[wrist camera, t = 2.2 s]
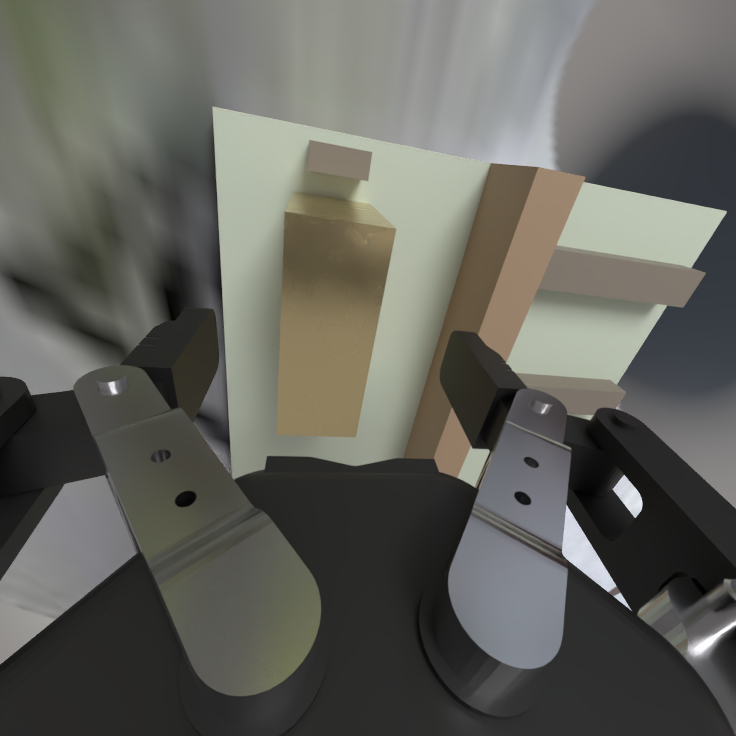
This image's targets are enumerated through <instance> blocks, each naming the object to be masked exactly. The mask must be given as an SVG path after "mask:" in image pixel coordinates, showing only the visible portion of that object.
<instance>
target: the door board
mask: <svg viewBox="0 0 736 736" xmlns="http://www.w3.org/2000/svg"><path fill="white" fill-rule="evenodd" d="M213 125H214V144H215V163H216V182H217V201H218V220H219V239H220V258H221V278H222V297H223V316H224V335H225V354H226V373H227V392H228V411H229V430H230V449H231V469H232V478H233V479H235V478H238V477H240V476H243V475H245V474H248V473H252V472H255V471H259V470H264V469H265V464H266V459H267V456H303V457H315V458H319V459H324V460H328V461H333V462H337V463H342V464H347V465H352V466H359V465H364V464H369V463H374V462H379V461H384V460H389V459H394V458H412V459H435V462H436V465H437V467H438V470H439V472H442V473H445V474H448V475H451V476H454V477H456V478H459V479H461V480H463V481H465V482H467V483H469V484H470V485H472V486H474V487H475V485H476V483H477V480H478V478H479V475H480V473H481V471H482V468H483V466H484V463H485V461H486V459H487V456H488V454H489V452H490V451H489V449H473V448H472V446H471V444H470V442H469V440H468V438H467V436H466V434H465V432H464V430H463V428H462V426H461V424H460V422H459V420H458V418H457V416H456V414H455V412H454V410H453V408H452V406H451V404H450V402H449V400H448V398H447V396H446V394H445V392H444V390H443V388H442V386H441V383H440V368H441V364H442V361H443V358H444V354H445V351H446V348H447V344H448V341H449V338H450V335H451V333H452V332H453V331H455V330H457V331H469V332H476V333H477V334H478V336H479V337H480V338H481V339H482V341H483V342H484V343H485V344H486V345H487V346H488V347H490V348H491V349H492V350H494V351H495V352H497V353H498V354H500V356H501V357H502V358H503V359H504V360H505V361H506V364H508V365H509V366H510V367H511V369H512V371H514V372H515V373H516V374H517V376H518V377H519V378H520V379H521V380H522V382H523V383H524V384H525V385H526V386H527V388H528V389H536V390H539V391H542V392H545V393H547V394H550V395H551V396H553V397H555V398H556V399H558V400H559V401H560V402H561V403H562V404H563V405H564V406H565V407H566V409H567V415H571V416H575V417H579V418H583V419H587V420H591V418H592V417H593V415H594V414H595V412H596V410H597V409H599V408H603V407H605V408H613V409H616V407H617V406H618V404H619V403H620V401H621V400H622V398H623V397H624V395H625V394H626V392H625V391H624V390H622V389H621V388H620V387H619V386H617V383H618V382H619V380H620V378H621V377H622V375H623V374H624V372H625V371H626V369H627V367H628V366H629V364H630V363H631V361H632V360H633V358H634V356H635V355H636V353H637V352H638V350H639V349H640V347H641V346H642V344H643V342H644V341H645V339H646V338H647V336H648V335H649V333H650V331H651V330H652V328H653V327H654V325H655V324H656V322H657V320H658V319H659V317H660V316H661V314H662V313H663V311H664V309H665V308H666V306H667V305H668V306H676V307H684V305H685V304H686V302H687V301H688V299H689V298H690V296H691V295H692V293H693V292H694V290H695V289H696V287H697V286H698V284H699V283H700V281H701V280H702V278H703V276H704V275H705V272H701V271H698V270H695V269H692V268H691V267H692V266H693V264H694V262H695V261H696V259H697V258H698V256H699V255H700V253H701V252H702V250H703V248H704V247H705V245H706V244H707V242H708V240H709V239H710V237H711V236H712V234H713V233H714V231H715V230H716V228H717V226H718V225H719V223H720V222H721V220H722V219H723V217H724V216H725V214H726V212H727V211H722V210H717V209H712V208H707V207H702V206H698V205H693V204H688V203H683V202H678V201H673V200H668V199H663V198H659V197H653V196H648V195H644V194H639V193H634V192H629V191H624V190H619V189H614V188H609V187H605V186H599V185H595V184H590V183H585V182H584V180H585V177H583V176H578V175H573V174H568V173H564V172H559V171H554V170H549V169H544V168H540V167H529V166H517V165H505V164H493V163H487V162H482V161H477V160H472V159H467V158H462V157H458V156H453V155H448V154H443V153H438V152H433V151H428V150H423V149H418V148H413V147H409V146H404V145H399V144H394V143H389V142H384V141H379V140H374V139H369V138H364V137H360V136H355V135H350V134H345V133H340V132H335V131H330V130H325V129H320V128H315V127H310V126H306V125H301V124H296V123H291V122H286V121H281V120H276V119H271V118H266V117H261V116H257V115H252V114H247V113H242V112H237V111H232V110H227V109H222V108H217V107H213ZM294 191H296V192H302V193H308V194H314V195H320V196H326V197H332V198H338V199H344V200H350V201H356V202H362V203H368V204H371V205H372V206H373V207H374V208H375V209H376V210H377V211H378V212H379V213H381V214H382V215H383V216H384V217H385V218H386V219H387V220H388V221H389V222H390V223H391V224H392V225H393V226H394V227H395V228H396V233H395V238H394V244H393V249H392V254H391V259H390V264H389V269H388V274H387V280H386V285H385V290H384V295H383V300H382V305H381V311H380V316H379V321H378V326H377V331H376V336H375V341H374V347H373V352H372V357H371V362H370V367H369V372H368V377H367V383H366V388H365V393H364V398H363V403H362V408H361V414H360V419H359V424H358V429H357V434H356V437H325V436H291V435H276V427H277V401H278V374H279V348H280V322H281V295H282V269H283V243H284V217H285V210H286V208H287V205H288V203H289V201H290V199H291V196H292V194H293V192H294Z"/></svg>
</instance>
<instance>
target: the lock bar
mask: <svg viewBox="0 0 736 736" xmlns="http://www.w3.org/2000/svg"><path fill="white" fill-rule="evenodd" d="M395 233H396V228H395V227H394V226H393V225H392V224H391V223H390V222H389V221H388V220H387V219H386V218H385V217H384V216H383V215H382V214H381V213H379V212H378V211H377V210H376V209H375V208H374V207H373V206H372V205H371V204H368V203H362V202H356V201H350V200H344V199H338V198H332V197H326V196H320V195H314V194H308V193H302V192H296V191H294V192H293V194H292V196H291V199H290V201H289V203H288V205H287V208H286V210H285V217H284V243H283V269H282V295H281V322H280V348H279V374H278V401H277V427H276V435H291V436H325V437H356V434H357V429H358V424H359V419H360V414H361V408H362V403H363V398H364V393H365V388H366V383H367V377H368V372H369V367H370V362H371V357H372V352H373V347H374V341H375V336H376V331H377V326H378V321H379V316H380V311H381V305H382V300H383V295H384V290H385V285H386V280H387V274H388V269H389V264H390V259H391V254H392V249H393V244H394V238H395Z"/></svg>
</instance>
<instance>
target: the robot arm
mask: <svg viewBox="0 0 736 736" xmlns="http://www.w3.org/2000/svg"><path fill="white" fill-rule="evenodd" d="M218 363H219V348H218V338H217V327H216V317H215V312H214V310H213V309H207V308H195V307H186V308H185V309H184V311H183V312H182V313H181V314H180V316H179V317H178V318H177V319H176V320H175V321H166V322H164V323H162V324H160V325H158V326H156V327H154V328H153V329H152V330H151V331H150V332H149V333H148V335H147V336H146V338H144V339H143V340H142V341H141V342H140V343H139V345H138V346H137V347H136V348H135V349H134V350H133V351H132V352H131V353H130V354H129V355H128V357H127V358H126V359H125V360H124V361H123V362H122V363H121V364H120V365H117V366H109V367H104V368H100V369H97V370H94V371H91V372H89V373H87V374H85V375H84V376H82V377H81V378H79V379H78V380H77V381H76V383H75V384H74V388H73V389H74V390H71V391H64V392H55V393H47V394H39V395H31V394H30V392H29V390H28V388H27V386H26V384H25V382H24V381H22V380H20V379H17V378H12V377H0V580H1V579H2V577H3V576H4V574H5V573H6V571H7V570H8V568H9V567H10V565H11V564H12V562H13V561H14V559H15V558H16V556H17V555H18V553H19V552H20V550H21V549H22V547H23V546H24V544H25V543H26V541H27V540H28V538H29V537H30V535H31V534H32V532H33V531H34V529H35V528H36V526H37V525H38V523H39V522H40V520H41V519H42V517H43V516H44V514H45V513H46V511H47V510H48V508H49V507H50V505H51V504H52V502H53V501H54V499H55V498H56V496H57V495H58V493H59V492H60V490H61V489H62V487H63V486H64V484H65V483H70V482H74V481H79V480H84V479H88V478H93V477H98V476H102V475H105V477H106V479H107V482H108V484H109V487H110V489H111V492H112V494H113V496H114V499H115V501H116V504H117V506H118V509H119V511H120V514H121V516H122V519H123V521H124V523H125V526H126V528H127V531H128V533H129V536H130V539H131V541H132V544H133V546H134V549H135V552H136V555H134V556H133V557H132V558H131V559H130V560H128V561H127V562H126V563H125V564H123V565H122V566H121V567H120V568H119V569H117V570H116V571H115V572H114V573H112V574H111V575H110V576H109V577H107V578H106V579H105V580H104V581H103V582H101V583H100V584H99V585H98V586H96V587H95V588H94V589H93V590H91V591H90V592H89V593H88V594H87V595H85V596H84V597H83V598H82V599H80V600H79V601H78V602H77V603H75V604H74V605H73V606H72V607H71V608H69V609H68V610H67V611H66V612H64V613H63V614H62V615H61V616H59V617H58V618H57V619H56V620H55V621H53V622H52V623H51V624H50V625H48V626H47V627H46V628H45V629H44V630H42V631H41V632H40V633H39V634H37V635H36V636H35V637H34V638H32V639H31V640H30V641H29V642H28V643H26V644H25V645H24V646H23V647H21V648H20V649H19V650H18V651H17V652H15V653H14V654H13V655H12V656H10V657H9V658H8V659H7V660H5V661H4V662H3V663H2V664H0V736H736V509H735V508H734V507H733V506H732V505H731V504H730V503H729V502H728V501H727V500H726V499H725V498H723V497H722V496H721V495H720V494H719V493H718V492H717V491H716V490H715V489H714V488H713V487H711V485H709V484H708V483H707V482H706V481H705V480H704V479H703V478H702V477H701V476H700V475H699V474H698V473H697V472H695V471H694V470H693V469H692V468H691V467H690V466H689V465H688V464H687V463H686V462H685V461H683V460H682V459H681V458H680V457H679V456H678V455H677V454H676V453H675V452H674V451H673V450H672V449H671V448H670V447H669V446H667V445H666V444H665V443H664V442H663V441H662V440H661V439H660V438H659V437H658V436H657V435H656V434H655V433H653V432H652V431H651V430H650V429H649V428H648V427H647V426H646V425H645V424H644V423H642V422H641V421H640V420H638V419H637V418H635V417H633V416H631V415H630V414H627V413H625V412H623V411H620V410H617V409H613V408H605V407H603V408H599V409H597V410H596V412H595V414H594V415H593V417H592V418H591V420H587V419H583V418H579V417H575V416H571V415H567V409H566V407H565V406H564V405H563V404H562V403H561V402H560V401H559V400H558V399H556V398H555V397H553V396H551V395H550V394H547V393H545V392H542V391H539V390H536V389H528V388H527V386H526V385H525V384H524V383H523V382H522V380H521V379H520V378H519V377H518V376H517V374H516V373H515V372H514V371H512V369H511V367H510V366H509V365H508V364H506V361H505V360H504V359H503V358H502V357H501V356H500V354H498V353H497V352H495V351H494V350H492V349H491V348H490V347H488V346H487V345H486V344H485V343H484V342H483V341H482V339H481V338H480V337H479V336H478V334H477V333H476V332H469V331H457V330H455V331H453V332H452V333H451V335H450V338H449V341H448V344H447V348H446V351H445V354H444V358H443V361H442V364H441V368H440V383H441V386H442V388H443V390H444V392H445V394H446V396H447V398H448V400H449V402H450V404H451V406H452V408H453V410H454V412H455V414H456V416H457V418H458V420H459V422H460V424H461V426H462V428H463V430H464V432H465V434H466V436H467V438H468V440H469V442H470V444H471V446H472V448H473V449H489V451H490V452H489V454H488V456H487V459H486V461H485V463H484V466H483V468H482V471H481V473H480V475H479V478H478V480H477V483H476V485H475V487H474V486H472V485H470V484H469V483H467V482H465V481H463V480H461V479H459V478H456V477H454V476H451V475H448V474H445V473H442V472H439V470H438V467H437V465H436V462H435V459H412V458H394V459H389V460H384V461H379V462H374V463H369V464H364V465H359V466H352V465H347V464H342V463H337V462H333V461H328V460H324V459H319V458H315V457H303V456H267V459H266V464H265V469H264V470H259V471H255V472H252V473H248V474H245V475H243V476H240V477H238V478H235V479H233V478H232V477H231V475H230V474H229V473H228V471H227V470H226V468H225V467H224V466H223V464H222V463H221V462H220V460H219V459H218V457H217V456H216V455H215V453H214V452H213V450H212V449H211V448H210V446H209V445H208V444H207V442H206V441H205V439H204V438H203V437H202V435H201V434H200V432H199V431H198V430H197V428H196V427H195V426H194V424H193V421H194V419H195V417H196V415H197V413H198V410H199V408H200V406H201V404H202V402H203V400H204V397H205V395H206V393H207V391H208V389H209V387H210V384H211V382H212V380H213V378H214V376H215V374H216V371H217V368H218ZM623 475H625V476H626V477H627V478H628V480H629V481H630V482H631V483H632V484H633V485H634V487H635V488H636V489H637V490H638V492H639V493H640V495H641V497H642V502H643V507H642V510H641V512H640V513H639V515H638V516H637V517H636V518H634V517H633V515H632V514H631V513H630V511H629V510H628V509H627V508H626V506H625V505H624V504H623V502H622V501H621V500H620V499H619V497H618V496H617V495H616V493H615V492H614V491H613V490H612V489H613V488H614V487H615V485H616V484H617V483H618V481H619V480H620V479H621V478H622V476H623ZM566 504H567V506H568V508H569V509H570V511H571V513H572V514H573V516H574V517H575V519H576V521H577V522H578V524H579V526H580V527H581V529H582V530H583V532H584V534H585V535H586V537H587V539H588V540H589V542H590V543H591V545H592V547H593V548H594V550H595V552H596V553H597V555H598V556H599V558H600V560H601V561H602V563H603V565H604V566H605V568H606V569H607V571H608V573H609V574H610V576H611V577H612V579H613V581H614V582H615V584H616V586H617V587H618V589H619V590H620V592H621V594H622V595H623V597H624V599H625V600H626V602H627V603H628V605H629V607H630V608H631V610H632V611H631V610H630V609H628V608H627V607H626V606H625V605H623V604H622V603H621V602H620V601H618V600H617V599H616V598H615V597H613V596H612V595H611V594H609V593H608V592H607V591H606V590H604V589H603V588H602V587H601V586H599V585H598V584H597V583H596V582H594V581H593V580H592V579H591V578H589V577H588V576H587V575H586V574H584V573H583V572H582V571H581V570H579V569H578V568H577V567H575V566H574V565H573V564H572V563H570V562H569V561H568V560H567V559H566V558H565V557H564V556H563V554H562V543H563V532H564V522H565V512H566Z"/></svg>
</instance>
